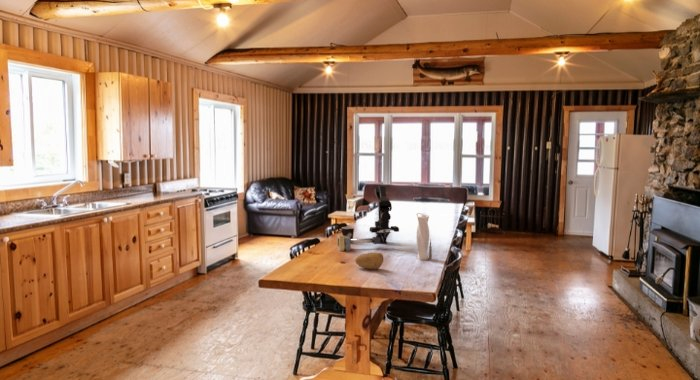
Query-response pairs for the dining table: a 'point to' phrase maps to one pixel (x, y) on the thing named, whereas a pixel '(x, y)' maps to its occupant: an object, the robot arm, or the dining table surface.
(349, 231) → the coffee mug
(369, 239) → the shaft
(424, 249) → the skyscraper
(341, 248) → the spacer
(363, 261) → the potato
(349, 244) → the pillow block
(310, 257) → the dining table surface
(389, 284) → the dining table surface
